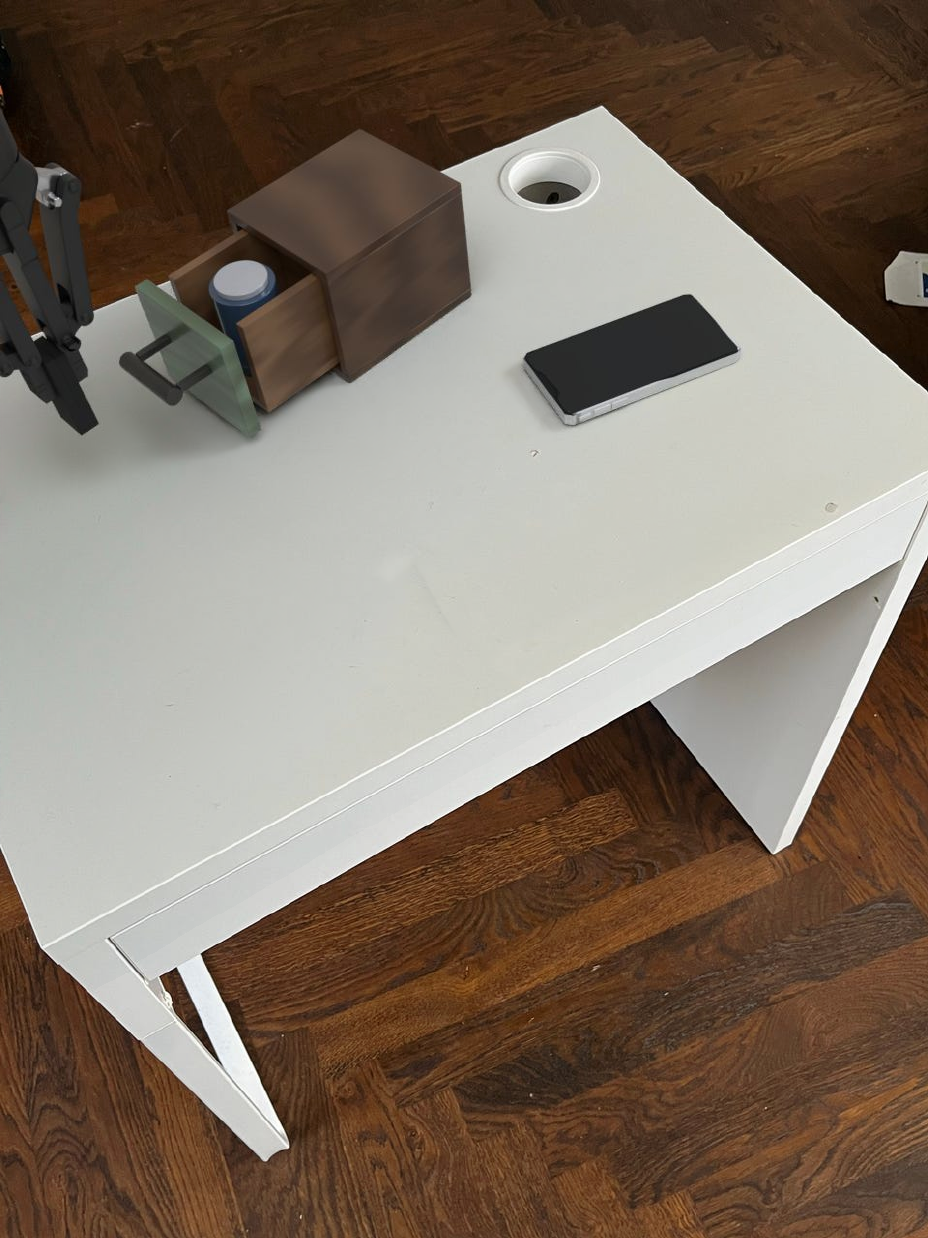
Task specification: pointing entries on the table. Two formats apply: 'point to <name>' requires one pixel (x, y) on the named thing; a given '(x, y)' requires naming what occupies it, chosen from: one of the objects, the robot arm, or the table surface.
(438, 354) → the table surface
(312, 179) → the cabinet
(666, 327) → the smartphone
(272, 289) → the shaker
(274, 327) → the drawer
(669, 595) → the table surface
